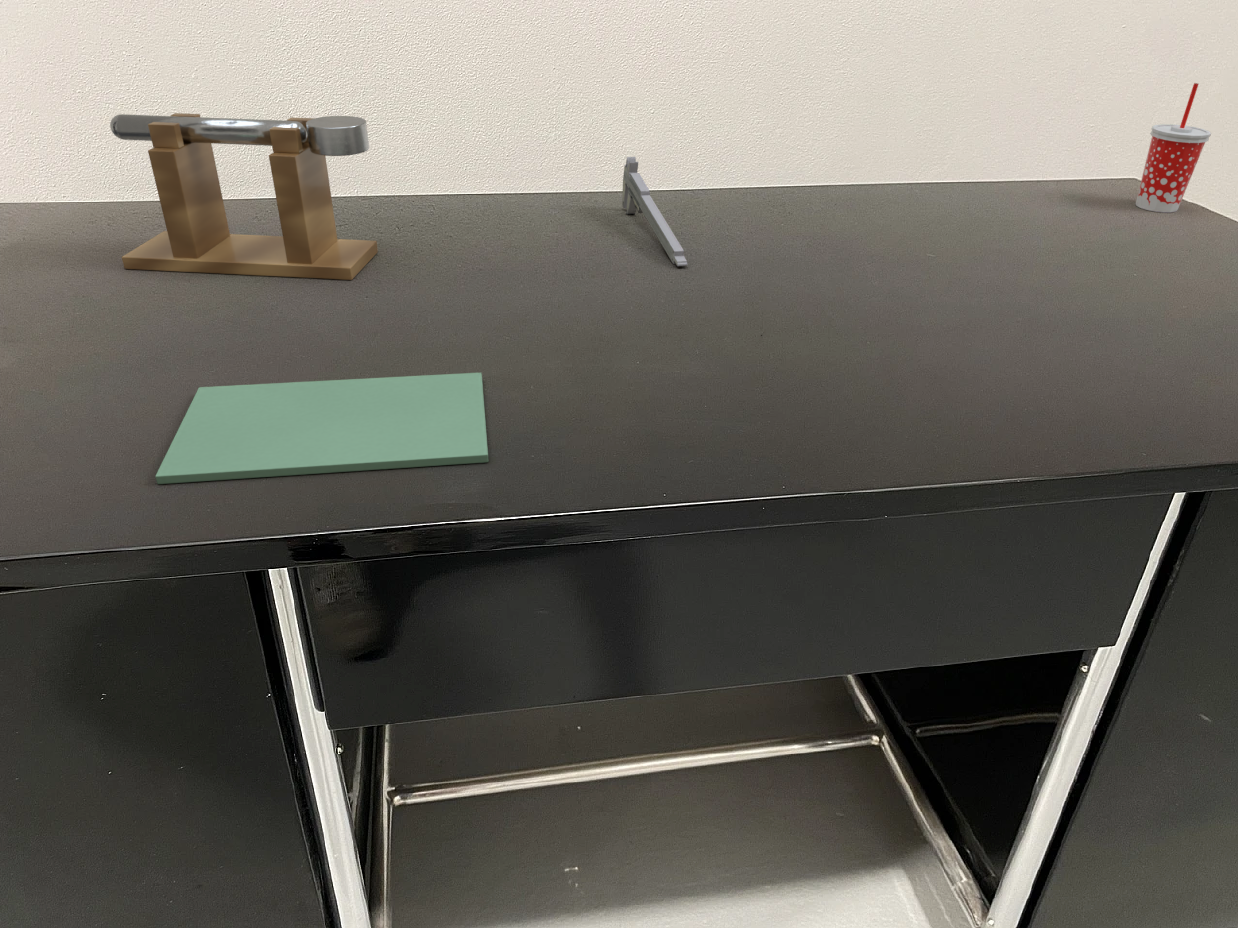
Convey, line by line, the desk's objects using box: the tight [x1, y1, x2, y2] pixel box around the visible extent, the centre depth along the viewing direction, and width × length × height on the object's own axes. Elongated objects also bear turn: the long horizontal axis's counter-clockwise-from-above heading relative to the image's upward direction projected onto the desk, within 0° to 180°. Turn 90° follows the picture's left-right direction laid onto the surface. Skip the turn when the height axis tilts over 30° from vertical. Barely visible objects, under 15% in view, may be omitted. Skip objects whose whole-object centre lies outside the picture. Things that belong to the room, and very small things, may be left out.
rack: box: [121, 112, 379, 281], centre depth 87 cm, size 22×8×13 cm, turn 85°
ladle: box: [109, 113, 370, 157], centre depth 84 cm, size 24×5×2 cm, turn 85°
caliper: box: [621, 156, 688, 267], centre depth 98 cm, size 20×1×6 cm, turn 15°
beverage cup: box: [1135, 82, 1212, 213], centre depth 109 cm, size 6×6×14 cm
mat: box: [155, 372, 489, 485], centre depth 63 cm, size 20×12×1 cm, turn 99°
